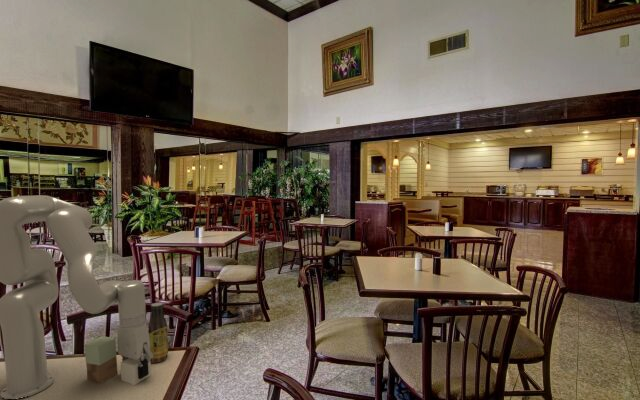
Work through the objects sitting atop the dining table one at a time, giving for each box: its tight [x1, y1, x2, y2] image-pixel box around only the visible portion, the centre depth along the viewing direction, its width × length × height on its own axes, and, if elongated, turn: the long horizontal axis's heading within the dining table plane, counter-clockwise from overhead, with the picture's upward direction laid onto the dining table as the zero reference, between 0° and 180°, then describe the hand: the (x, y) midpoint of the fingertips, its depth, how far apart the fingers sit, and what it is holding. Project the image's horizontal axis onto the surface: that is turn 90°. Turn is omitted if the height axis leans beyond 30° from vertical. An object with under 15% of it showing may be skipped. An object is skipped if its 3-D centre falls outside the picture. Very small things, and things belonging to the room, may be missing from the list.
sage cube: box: [84, 335, 118, 365], centre depth 109 cm, size 6×6×6 cm
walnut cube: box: [85, 356, 118, 385], centre depth 110 cm, size 6×6×6 cm
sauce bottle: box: [147, 302, 169, 364], centre depth 120 cm, size 6×6×20 cm
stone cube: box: [120, 357, 152, 386], centre depth 109 cm, size 6×6×6 cm
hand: (136, 374), depth 109 cm, fingers closed on stone cube, 6 cm apart
